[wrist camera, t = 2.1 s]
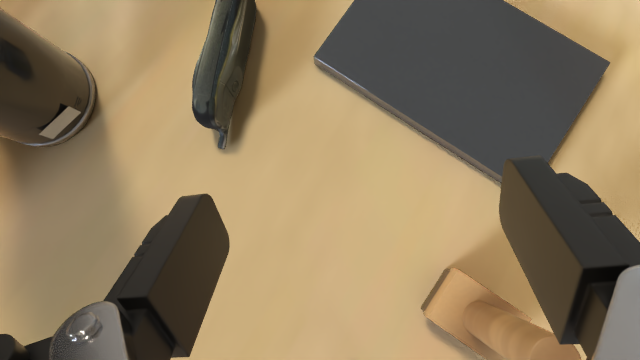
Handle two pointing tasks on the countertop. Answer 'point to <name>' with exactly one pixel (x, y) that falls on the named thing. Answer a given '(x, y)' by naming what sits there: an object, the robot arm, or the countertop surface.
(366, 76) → the slate board
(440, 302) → the brush
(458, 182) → the countertop surface
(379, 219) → the countertop surface
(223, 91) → the dark green rounded bar
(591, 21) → the countertop surface
